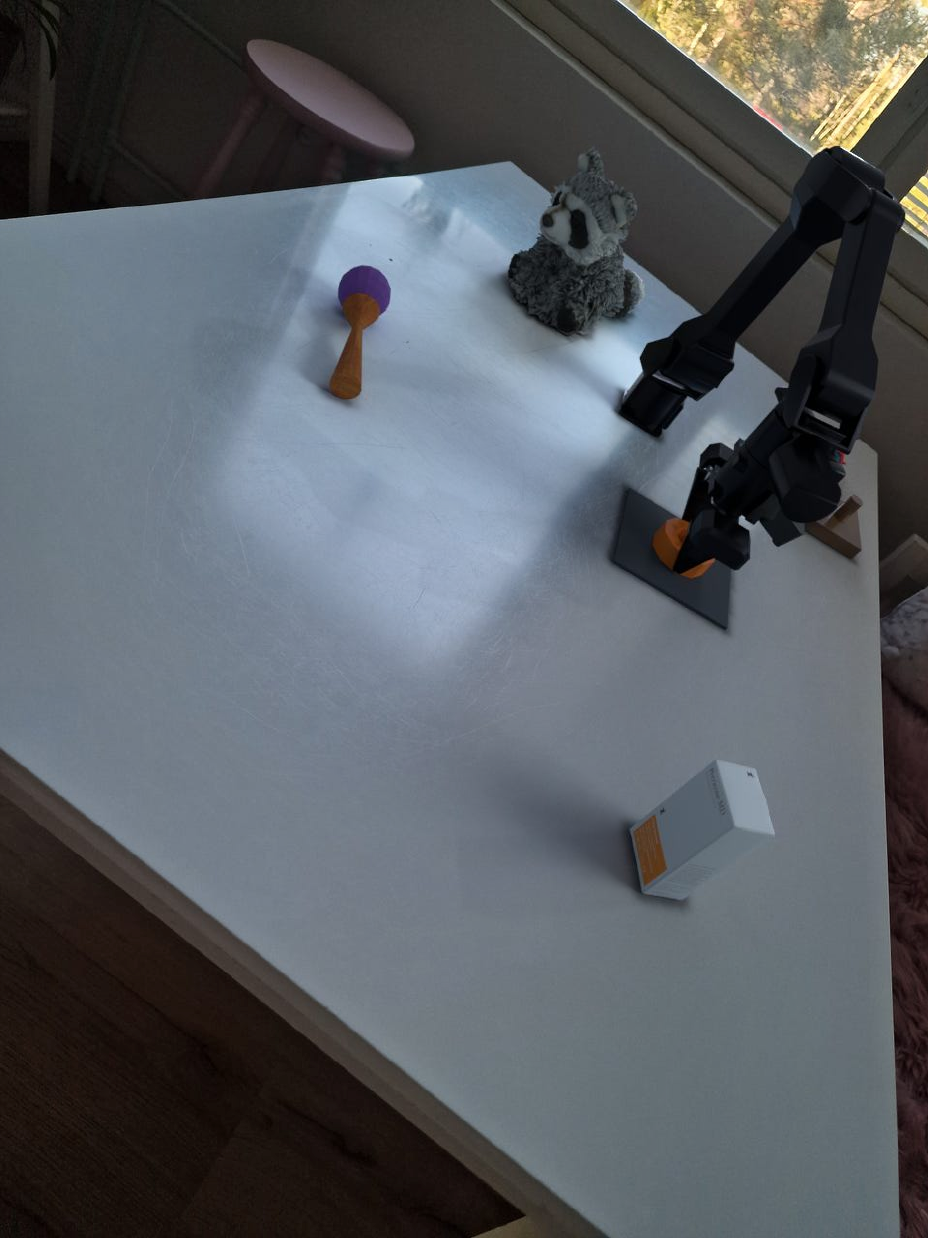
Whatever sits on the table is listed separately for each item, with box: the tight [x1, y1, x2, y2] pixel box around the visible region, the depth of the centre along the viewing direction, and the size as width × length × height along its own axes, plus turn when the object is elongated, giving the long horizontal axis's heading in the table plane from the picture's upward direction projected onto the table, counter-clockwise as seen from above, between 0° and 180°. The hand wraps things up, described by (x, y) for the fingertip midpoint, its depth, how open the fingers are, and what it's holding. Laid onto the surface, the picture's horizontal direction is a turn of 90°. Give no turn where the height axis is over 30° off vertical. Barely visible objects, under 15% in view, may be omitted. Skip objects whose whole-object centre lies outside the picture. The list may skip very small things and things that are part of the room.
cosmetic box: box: [629, 759, 776, 901], centre depth 79 cm, size 6×4×12 cm
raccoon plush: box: [507, 146, 646, 337], centre depth 138 cm, size 15×32×21 cm, turn 145°
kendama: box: [329, 264, 392, 401], centre depth 108 cm, size 6×6×20 cm
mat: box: [612, 487, 732, 630], centre depth 115 cm, size 15×15×1 cm
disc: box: [653, 517, 715, 579], centre depth 114 cm, size 7×7×2 cm
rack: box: [804, 494, 864, 560], centre depth 137 cm, size 14×10×6 cm
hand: (678, 552), depth 114 cm, fingers closed on disc, 7 cm apart
